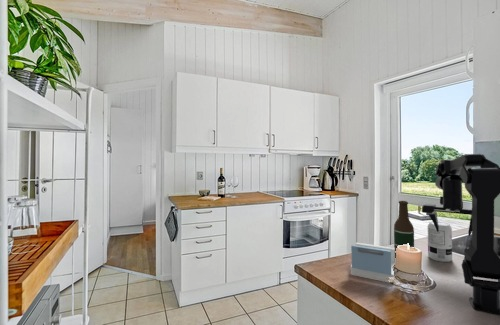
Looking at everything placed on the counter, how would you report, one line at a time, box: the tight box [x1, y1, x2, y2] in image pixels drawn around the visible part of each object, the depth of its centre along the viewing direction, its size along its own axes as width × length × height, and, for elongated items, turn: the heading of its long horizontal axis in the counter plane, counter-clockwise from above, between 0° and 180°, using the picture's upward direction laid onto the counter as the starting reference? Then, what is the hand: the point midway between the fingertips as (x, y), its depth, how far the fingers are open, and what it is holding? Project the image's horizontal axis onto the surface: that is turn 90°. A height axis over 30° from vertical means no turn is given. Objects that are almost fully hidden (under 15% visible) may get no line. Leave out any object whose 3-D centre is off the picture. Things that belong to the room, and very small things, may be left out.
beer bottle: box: [393, 200, 415, 251], centre depth 111 cm, size 8×8×24 cm
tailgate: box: [351, 244, 391, 275], centre depth 88 cm, size 2×13×8 cm, turn 58°
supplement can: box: [427, 221, 453, 263], centre depth 106 cm, size 8×8×15 cm
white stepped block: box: [350, 242, 396, 283], centre depth 95 cm, size 14×14×8 cm
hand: (453, 233), depth 95 cm, fingers open, 9 cm apart
